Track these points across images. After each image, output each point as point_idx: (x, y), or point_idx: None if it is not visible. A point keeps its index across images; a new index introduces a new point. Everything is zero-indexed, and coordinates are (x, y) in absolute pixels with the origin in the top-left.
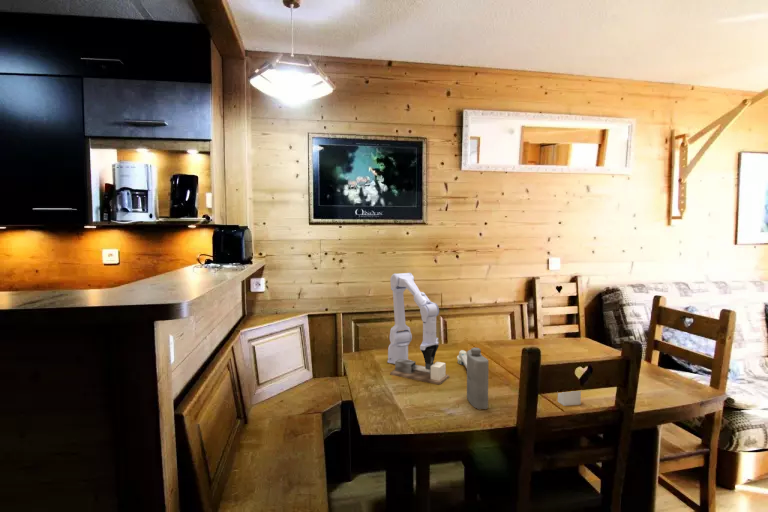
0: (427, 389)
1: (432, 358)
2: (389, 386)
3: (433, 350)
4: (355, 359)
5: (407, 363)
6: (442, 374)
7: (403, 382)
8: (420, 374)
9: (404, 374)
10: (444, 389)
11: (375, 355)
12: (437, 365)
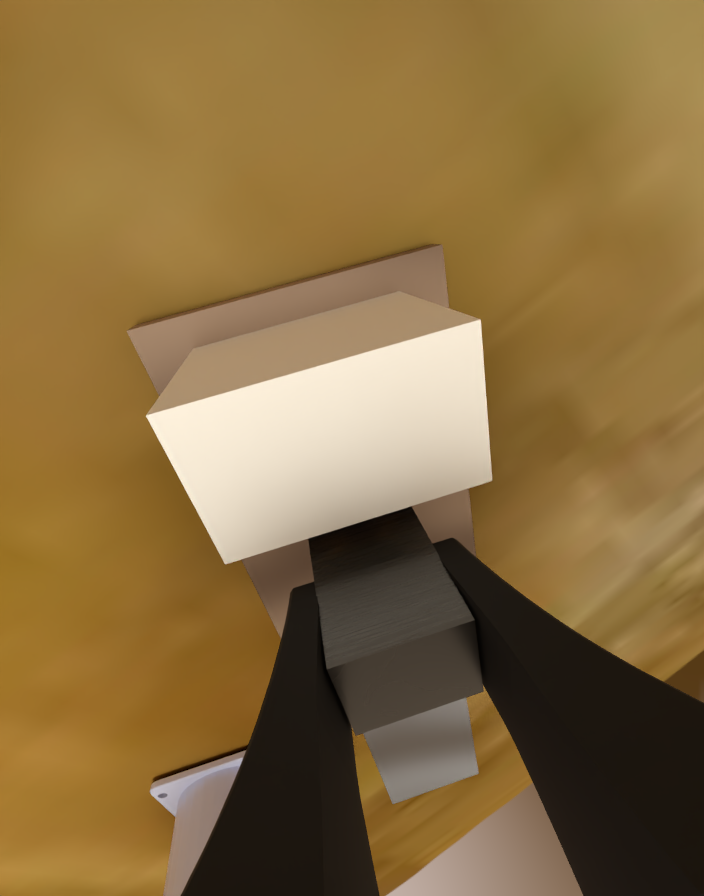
0: (615, 267)
1: (371, 621)
2: (674, 524)
3: (342, 846)
4: (403, 863)
5: (466, 704)
6: (302, 328)
7: (564, 522)
8: None
9: None
10: (526, 87)
11: None
12: (393, 428)
